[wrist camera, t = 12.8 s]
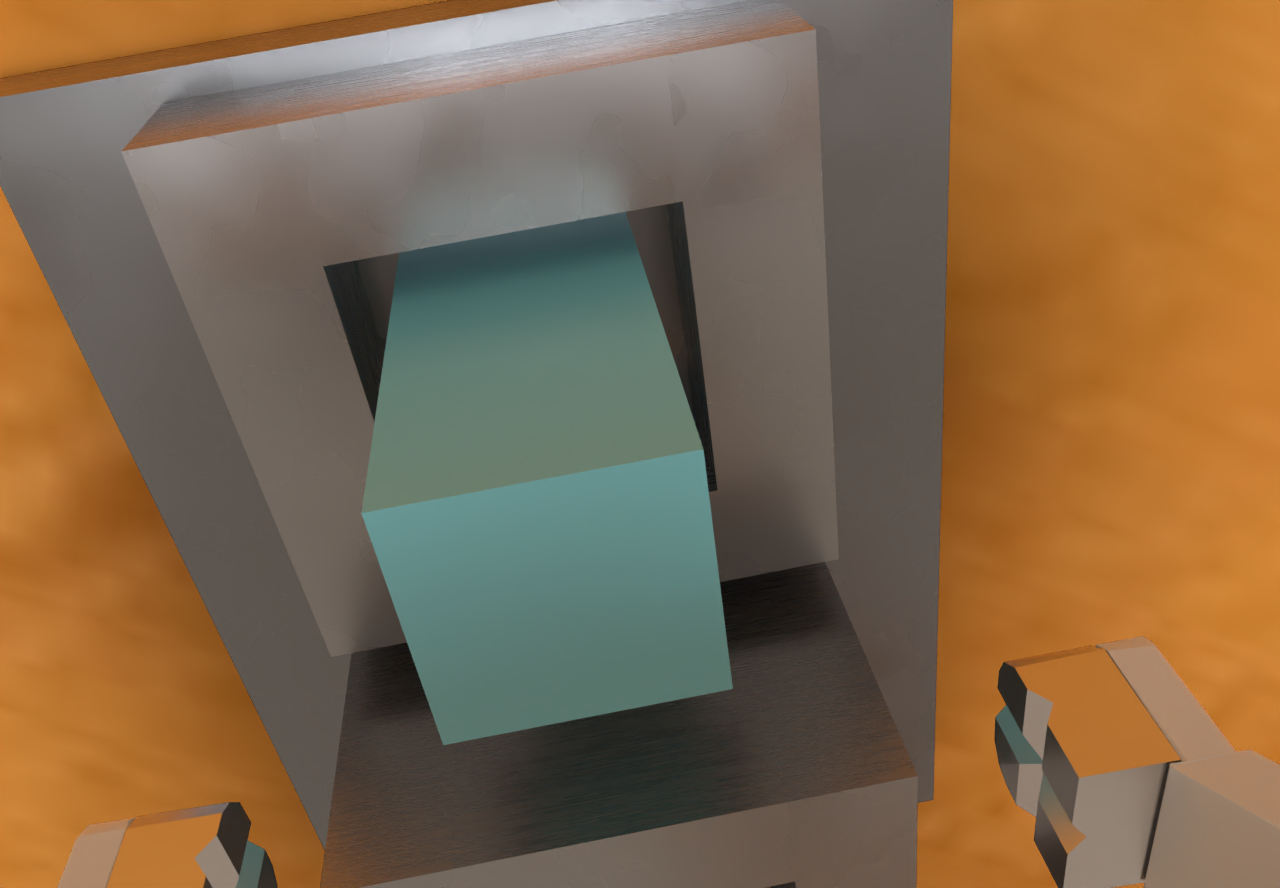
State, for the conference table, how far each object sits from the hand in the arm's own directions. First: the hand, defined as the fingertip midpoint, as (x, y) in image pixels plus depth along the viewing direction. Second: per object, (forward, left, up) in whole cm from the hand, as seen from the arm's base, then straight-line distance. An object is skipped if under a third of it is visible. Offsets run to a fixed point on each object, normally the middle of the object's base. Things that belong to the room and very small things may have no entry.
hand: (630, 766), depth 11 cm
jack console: (-5, +1, -12) cm, 13 cm away
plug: (0, +1, -11) cm, 11 cm away
